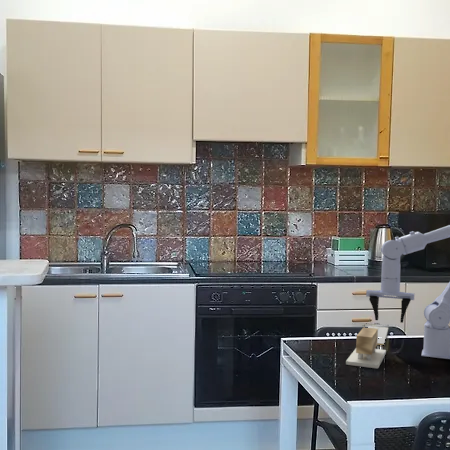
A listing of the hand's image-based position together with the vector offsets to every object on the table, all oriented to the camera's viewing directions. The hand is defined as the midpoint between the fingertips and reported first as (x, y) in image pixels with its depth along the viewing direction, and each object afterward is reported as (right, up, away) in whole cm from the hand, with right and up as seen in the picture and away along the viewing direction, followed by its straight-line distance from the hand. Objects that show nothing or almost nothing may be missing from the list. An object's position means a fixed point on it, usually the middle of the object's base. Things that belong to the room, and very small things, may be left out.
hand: (389, 320), depth 179 cm
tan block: (-9, -7, -9) cm, 15 cm away
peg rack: (-9, -10, -9) cm, 16 cm away
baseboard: (+1, -10, +24) cm, 26 cm away
